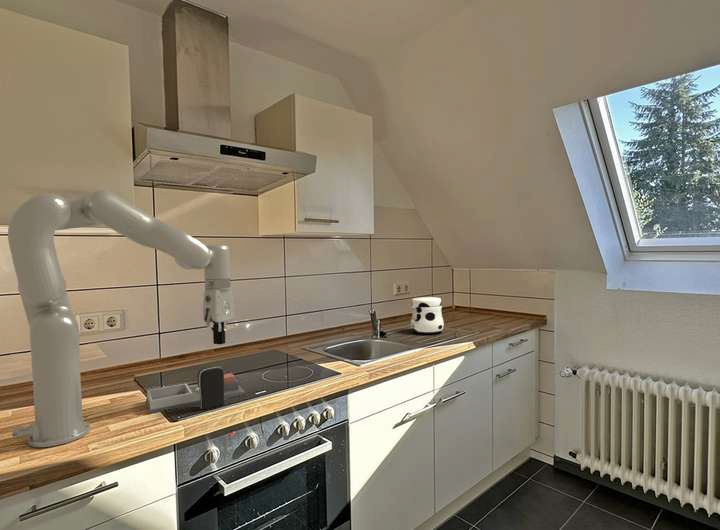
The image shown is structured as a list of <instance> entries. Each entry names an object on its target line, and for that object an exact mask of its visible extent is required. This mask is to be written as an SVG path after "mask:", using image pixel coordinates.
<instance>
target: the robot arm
mask: <svg viewBox="0 0 720 530" xmlns="http://www.w3.org/2000/svg"><path fill="white" fill-rule="evenodd" d="M98 225H99V226H100V225H103V226H105V227H107V228H109V229H111V230H113V231H115V232H116V233H118V234H120V235H122V236H123V237H125V238H127V239H129V240H131V241H132V242H135V243H136V244H138V245H140V246H143V247H146V248H150V249H154V250H157V251H160V252H162V253H165V254H166V255H168V256H171V257H173V258H174V261H175V263H176V264H177V265H178V266H179V268H182V269H185V270H203V269H204V270H203V272H204V274H203V275H204V292H203V300H202V301H203V304H202V305H203V307H202V308H203V309H202V313H203V321H204V322H205V326H206V328H211V332H212V337H213V345H223V344H225V343H226V330H227V325H228V324H229V323H230V322H232V321H231V320H233V319H234V318H235V316H236V315H235V314H236V312H235V311H236V310H235V302H234V301H235V299H234V293H233V290H232V288H231V257H230V255H231V254H230V253H231V252H230V247H229V246H228V245H225V244H208V245H205V244H204V243H202V242H201V241H199V240H198V239H197V238H194V237H193V236H191V235H190V234H188V233H186V232H185V231H182V230H180V229H178V228H176V227H174V226H172V225H170V224H169V223H166V222H164V221H163V220H160V219H158V218H156V216H153V215H151V214H150V213H148V212H146V211H144V210H143V209H141V208H140V207H138V206H136V205H134V204H132V203H131V202H130V201H128V200H126V199H124V198H123V197H121V196H120V195H117V194H116V193H114V192H112V191H110V190H106V189H97V190H94V191H92V192H90V193H88V194H85V195H76V196H69V197H68V196H67V197H62V196H61V195H59V194H56V193H51V192H50V193H48V192H47V193H46V192H45V193H41V194H37V195H35V196H32V197H31V198H29V199H28V200H26V201H24V202H23V203H22V204H21V205H20V206H18V208H16V210H15V211H14V213H13V214H12V216H11V219H10V221H9V225H8V229H7V240H8V247H9V250H10V255H11V258H12V259H11V260H12V263H13V268H14V272H15V274H16V279H17V290H18V292H19V295H20V299H21V301H22V305H23V309H24V312H25V316H26V318H27V319H26V320H27V323H28V326H29V343H30V355H31V373H32V374H31V376H32V387H33V388H32V389H33V401H34V402H33V403H34V404H33V405H34V406H33V407H34V421H33V423H29V425H25V426H18V427H13V428H12V430H11V431H12V432H11V435H12V437H16V438H17V439H20V438H23V437H28V436H29V437H28V438H27V444H28V446H30V447H32V448H49V447H54V446H55V447H56V446H60V445H65V444H68V443H70V442H74V441H76V440H78V439H81V438H83V437H84V436H86V435H87V434H88V433H89V432H90V431H91V424H90V423H89V422H86V421H84V420H83V419H84V418H83V402H82V401H83V400H82V399H83V398H82V382H81V381H82V380H81V379H82V378H81V367H80V366H81V363H80V360H81V358H80V326H79V323H78V321H77V319H76V317H75V316H74V315H73V312H72V307H71V304H70V300H69V296H68V293H67V284H66V283H67V282H66V279H65V277H64V275H63V272H62V269H61V267H60V263H59V259H58V256H57V255H58V254H57V250H56V246H55V241H54V240H55V239H54V237H55V232H56V231H62V230H64V231H65V230H69V229H79V228H86V227H94V226H98Z"/></svg>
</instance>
